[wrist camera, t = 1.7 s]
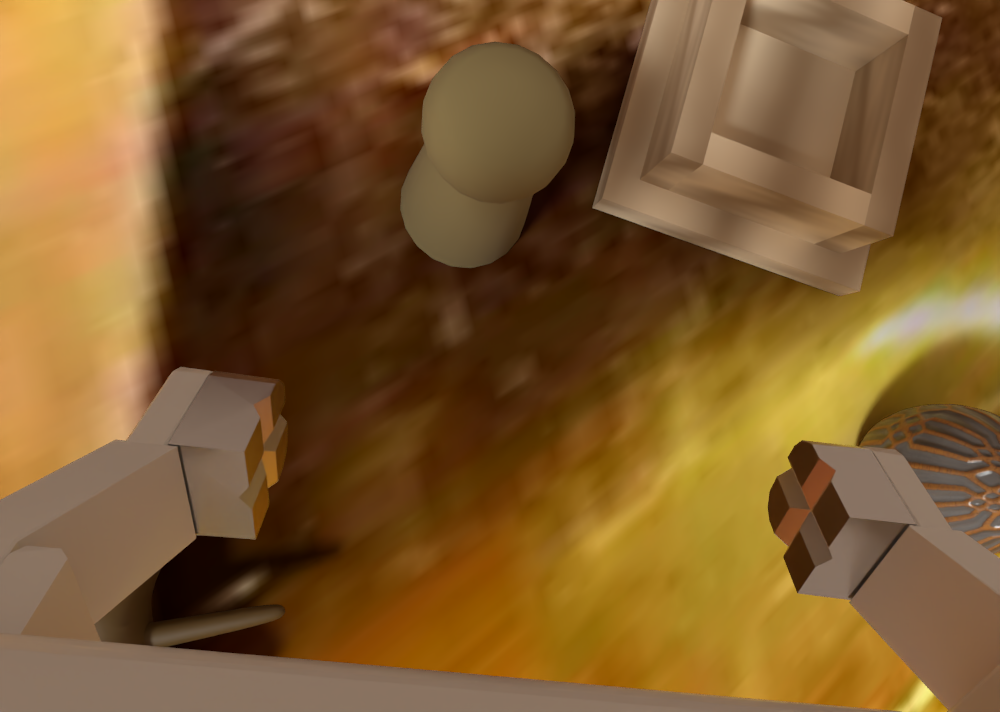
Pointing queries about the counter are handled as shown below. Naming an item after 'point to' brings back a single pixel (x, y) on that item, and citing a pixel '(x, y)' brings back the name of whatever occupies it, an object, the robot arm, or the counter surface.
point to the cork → (485, 152)
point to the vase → (951, 462)
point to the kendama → (174, 621)
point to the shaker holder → (772, 129)
